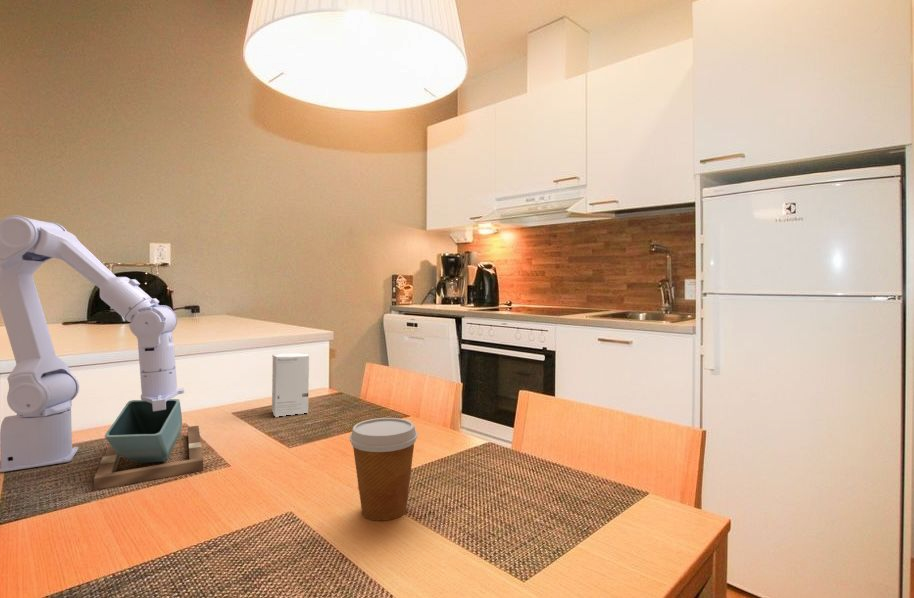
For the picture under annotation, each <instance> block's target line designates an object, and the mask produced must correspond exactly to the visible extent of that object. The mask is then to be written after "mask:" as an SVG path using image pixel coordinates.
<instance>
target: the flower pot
mask: <svg viewBox="0 0 914 598" xmlns="http://www.w3.org/2000/svg"><path fill="white" fill-rule="evenodd" d="M181 408H182V407H181V401H180V399H179V398H171V399H169V400H168V401H167V402H166V410H159V411H153V407H152V403H149V402H147V401H146V400H141V399H133V400H129V401H128V402H127V403H126V404H125V406H124V407H123V408H122V410H121V411H120V412H119V415H118V416H117V417H116V419H115V420H114V422H113V423H112V424H111V425H110V427H109V428H108V430H107V431H106V433H105V435H104V438H105V440H107V442H108V443H109V444H111V446H112V447H113V448H114V450H115V451H116V452H117V453H118V454H119V455H120V456H121V457H120V458H123V459H125V460H127V461H130V462H133V463H142V464H143V463H162V462H163V463H164V462H166V461H167V460H168V458H170V454H171V453H172V450H173V449H174V447H175V445H176V443H177V441H178V439H179V437H180V435H181V430H182V426H183V418H182V417H183V416H182V409H181Z"/></svg>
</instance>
